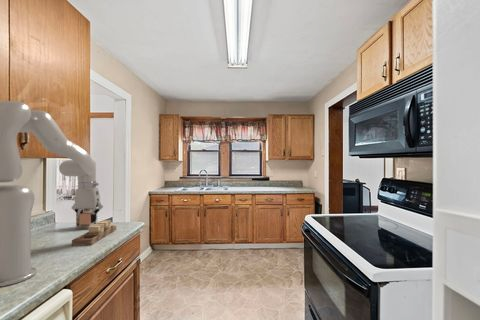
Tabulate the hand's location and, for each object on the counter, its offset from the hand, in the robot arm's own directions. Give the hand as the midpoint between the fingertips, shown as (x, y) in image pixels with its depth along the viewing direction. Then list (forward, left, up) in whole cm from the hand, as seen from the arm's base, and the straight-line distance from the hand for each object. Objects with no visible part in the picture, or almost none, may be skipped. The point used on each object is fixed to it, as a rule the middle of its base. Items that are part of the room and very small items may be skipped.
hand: (87, 221), depth 118 cm
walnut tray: (+5, +5, -10) cm, 12 cm away
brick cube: (0, 0, -1) cm, 1 cm away
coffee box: (+7, +29, -10) cm, 32 cm away
